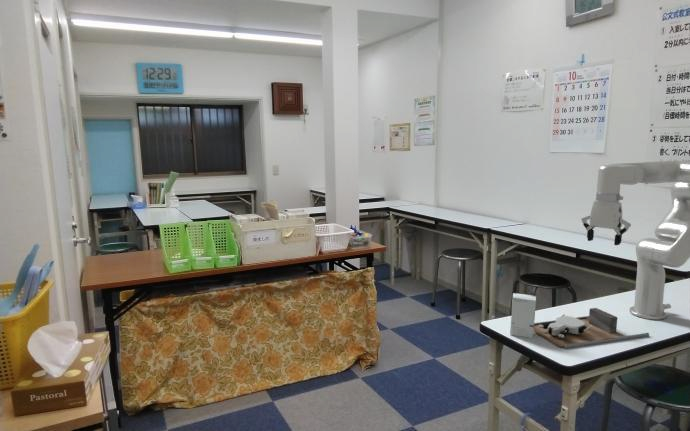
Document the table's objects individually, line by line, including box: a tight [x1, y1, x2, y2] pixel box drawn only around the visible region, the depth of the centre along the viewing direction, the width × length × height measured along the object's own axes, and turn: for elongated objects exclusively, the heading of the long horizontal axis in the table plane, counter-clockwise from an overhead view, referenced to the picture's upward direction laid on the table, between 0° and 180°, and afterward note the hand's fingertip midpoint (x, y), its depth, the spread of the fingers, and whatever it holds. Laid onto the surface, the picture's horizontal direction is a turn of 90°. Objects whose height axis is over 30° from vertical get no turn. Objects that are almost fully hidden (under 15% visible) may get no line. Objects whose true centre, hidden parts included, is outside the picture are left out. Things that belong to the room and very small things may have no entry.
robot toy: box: [538, 314, 592, 338], centre depth 164 cm, size 12×4×15 cm
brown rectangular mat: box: [533, 307, 625, 349], centre depth 165 cm, size 28×18×6 cm, turn 104°
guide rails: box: [534, 315, 650, 350], centre depth 167 cm, size 36×20×1 cm, turn 104°
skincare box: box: [509, 292, 537, 339], centre depth 165 cm, size 8×6×15 cm
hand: (603, 242), depth 169 cm, fingers open, 9 cm apart
